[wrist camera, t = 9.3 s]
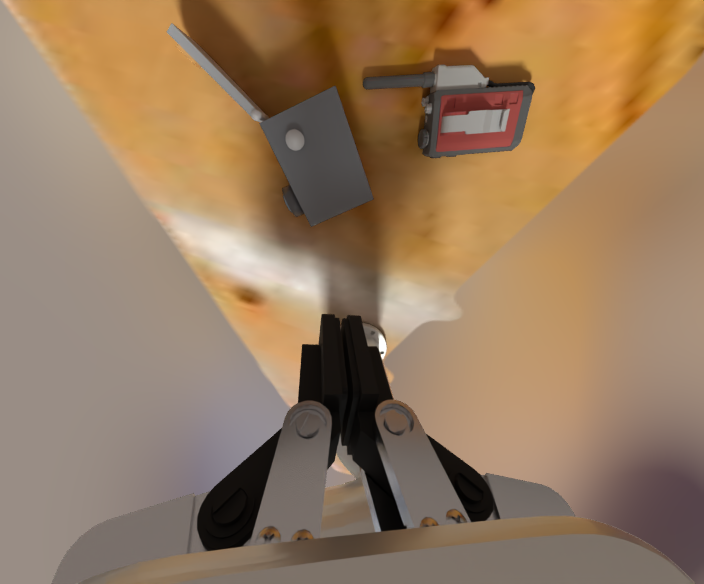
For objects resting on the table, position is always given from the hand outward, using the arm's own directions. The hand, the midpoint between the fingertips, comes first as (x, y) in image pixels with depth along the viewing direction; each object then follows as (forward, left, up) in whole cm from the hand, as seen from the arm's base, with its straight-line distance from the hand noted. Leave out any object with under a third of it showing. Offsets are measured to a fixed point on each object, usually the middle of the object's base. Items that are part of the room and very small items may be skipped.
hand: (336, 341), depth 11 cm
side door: (+15, +4, -27) cm, 31 cm away
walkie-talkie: (+4, -18, -28) cm, 33 cm away
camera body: (+5, -2, -27) cm, 28 cm away
